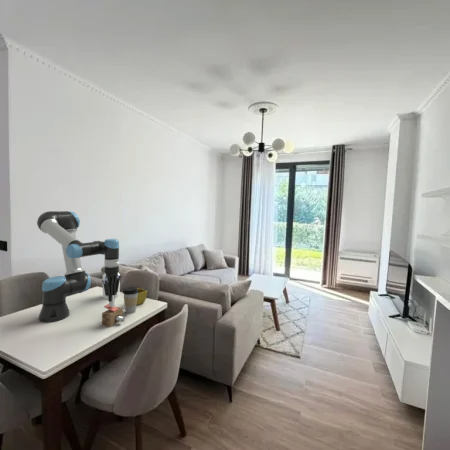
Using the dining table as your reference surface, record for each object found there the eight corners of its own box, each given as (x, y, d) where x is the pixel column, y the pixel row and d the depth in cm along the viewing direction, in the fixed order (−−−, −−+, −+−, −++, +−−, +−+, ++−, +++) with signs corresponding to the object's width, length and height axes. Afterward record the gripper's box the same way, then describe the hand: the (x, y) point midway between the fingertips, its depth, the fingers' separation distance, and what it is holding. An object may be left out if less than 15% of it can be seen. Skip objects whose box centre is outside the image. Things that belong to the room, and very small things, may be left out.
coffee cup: (133, 315, 159) (133, 292, 158) (119, 313, 160) (119, 290, 160) (141, 309, 168) (141, 287, 167) (128, 308, 170) (128, 286, 169)
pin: (103, 321, 148) (103, 314, 148) (109, 318, 152) (109, 311, 152) (120, 325, 145) (120, 317, 145) (125, 321, 149) (125, 314, 149)
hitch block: (102, 325, 145) (102, 312, 145) (114, 317, 155) (114, 306, 154) (110, 326, 143) (110, 314, 143) (122, 319, 153) (122, 308, 152)
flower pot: (147, 303, 180) (147, 290, 179) (137, 306, 173) (137, 293, 172) (139, 300, 185) (139, 288, 184) (129, 303, 177) (129, 291, 177)
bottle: (100, 299, 184) (100, 265, 182) (104, 293, 196) (104, 261, 194) (118, 298, 186) (118, 264, 185) (121, 293, 198) (121, 261, 196)
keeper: (104, 307, 148) (104, 305, 148) (109, 304, 151) (109, 303, 151) (113, 312, 146) (114, 311, 146) (118, 309, 150) (118, 308, 150)
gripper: (109, 269, 140) (109, 311, 141) (124, 264, 152) (124, 303, 154) (97, 267, 142) (97, 309, 143) (114, 263, 154) (114, 301, 156)
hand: (111, 306), depth 148 cm, fingers closed
